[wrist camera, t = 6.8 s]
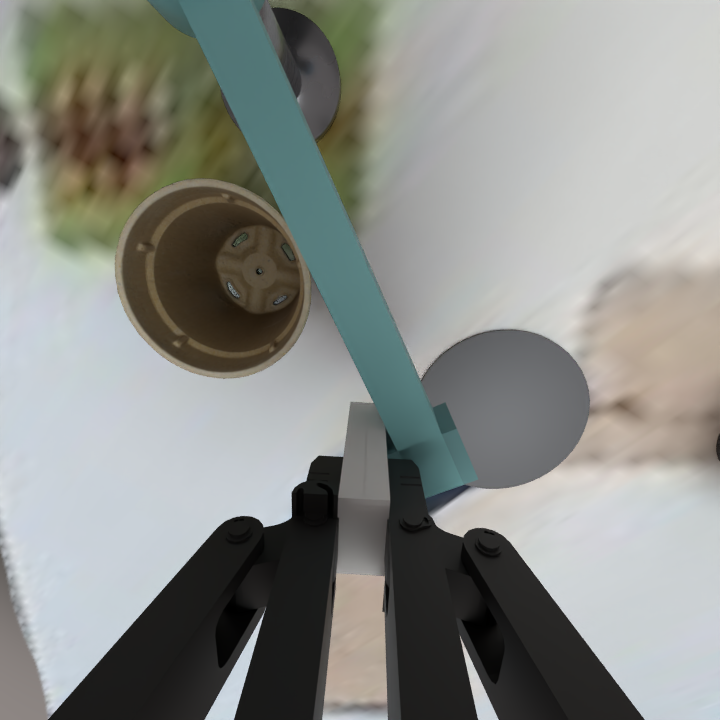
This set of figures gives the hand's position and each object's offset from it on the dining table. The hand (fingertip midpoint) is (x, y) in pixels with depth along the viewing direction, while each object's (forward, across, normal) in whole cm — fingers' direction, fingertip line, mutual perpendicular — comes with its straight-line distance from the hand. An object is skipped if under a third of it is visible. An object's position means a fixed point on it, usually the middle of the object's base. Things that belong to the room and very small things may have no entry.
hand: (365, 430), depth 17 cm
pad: (+11, +10, -4) cm, 16 cm away
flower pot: (+12, -8, +6) cm, 15 cm away
